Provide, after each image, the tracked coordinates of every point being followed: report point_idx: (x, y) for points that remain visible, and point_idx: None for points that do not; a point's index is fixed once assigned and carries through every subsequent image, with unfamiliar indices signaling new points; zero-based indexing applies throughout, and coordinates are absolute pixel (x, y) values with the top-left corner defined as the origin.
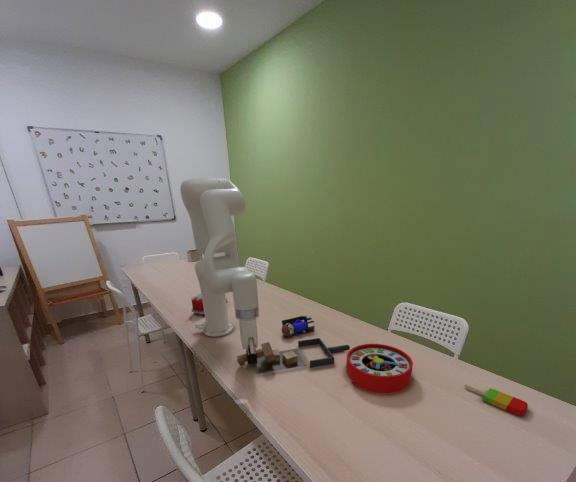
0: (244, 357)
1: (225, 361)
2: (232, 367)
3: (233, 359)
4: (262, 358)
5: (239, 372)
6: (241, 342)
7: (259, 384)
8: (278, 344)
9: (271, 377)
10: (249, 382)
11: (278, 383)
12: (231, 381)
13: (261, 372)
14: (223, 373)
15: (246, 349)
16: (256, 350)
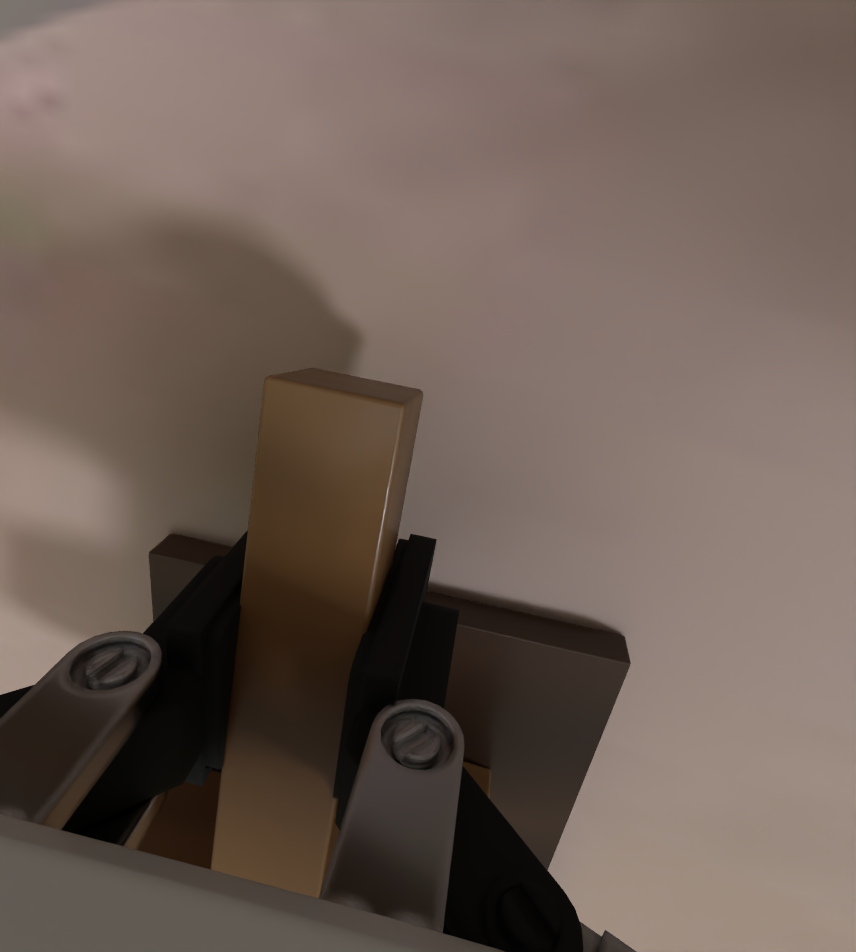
0: (247, 539)
1: (820, 168)
2: (520, 254)
3: (783, 342)
4: (474, 708)
5: (325, 325)
6: (109, 914)
7: (4, 472)
8: (751, 939)
9: (112, 621)
10: (57, 382)
11: (3, 632)
12: (121, 135)
13: (155, 580)
14: (397, 31)
15: (403, 704)
16: (315, 814)
